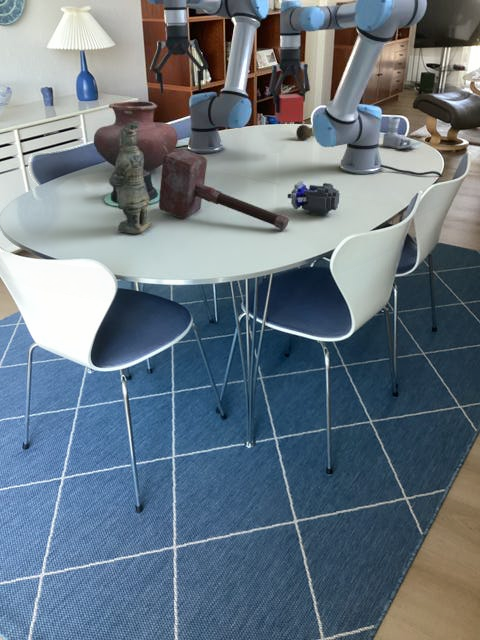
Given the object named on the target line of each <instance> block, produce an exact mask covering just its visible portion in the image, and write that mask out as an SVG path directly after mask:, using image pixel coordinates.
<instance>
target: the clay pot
mask: <svg viewBox="0 0 480 640" xmlns="http://www.w3.org/2000/svg"><path fill="white" fill-rule="evenodd" d="M157 107H158V105H157V104H155V103H154V102H152V101H145V100H141V101H140V100H138V101H120V102H113V103H109V104H108V108H110V109H112V110H113V113H114V116H115V119H114V122H113V124H110V125H105V126H101V127H98V128H97V130H96V131H95V132H94V135H93V145H94V148H95V149H96V152H97V153H98V154H99V155H100V156H101V157H102V158H103V159H104V160H105V161H106V162H107V163H108V164H110V165H111V166H113V167H115V164H116V160H117V156H118V154H119V151H120V147H119V140H118V138H119V133H120V130H121V129H123V128H124V127H125V126H126V125H127V124H128V123H131V122H133V121H137V122H138V123H139V127H138V130H137V131H136V138H137V143H136V146H137V147H138V149H139V150H141V151H142V153H143V156H144V166H143V169H144V170H146V171H147V172H151V171H153V170H157V169H158V168H160V167H161V166H163V158H164V156H165V155H167V154H170V153H172V152H174V151H175V150H176V149H175V147H177V145H178V141H179V140H178V139H179V138H178V133H177V131H176V129H175V128H174V127H173V125H171V124H169V123H166V122H156V121H155V122H154V114H155V110H156V109H157Z"/></svg>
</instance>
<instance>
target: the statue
mask: <svg viewBox="0 0 480 640" xmlns="http://www.w3.org/2000/svg"><path fill="white" fill-rule="evenodd" d="M138 127H139V123H138V122H137V121H133V122H131V123H128V124H127V125H126V126H125V127H124V128H123V129H121V130H120V133H119V138H118V140H119V147H120V151H119V154H118V156H117V160H116V164H115V166H114V169H113V172H114V175H113V176H112V175H111V176H110V177H109V180H108V183H109V184H110V186H111V187H112V188H113V187H114V188H115V189H116V192H117V202H118V206H117V209H119V210H122V213H123V214H124V215H125V218H126V219H125V220H122V221H120V222H119V224H118V225H117V231H118V232H121V233H126V234H134V235H136V234H142V233H143V232H145V231H146V230H147V229H148V228H150V227H151V226H152V225H153V223H152V220H150V219H148V216H147V214H148V213H147V212H148V211H147V209H148V206H149V205H150V197H149V195H148V192H147V188H146V184H145V182H144V178H143V166H144V156H143V153H142V151H141V150H139V149H138V147H137V146H136V143H137V138H136V131H137V130H138Z"/></svg>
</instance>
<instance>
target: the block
mask: <svg viewBox="0 0 480 640" xmlns="http://www.w3.org/2000/svg"><path fill="white" fill-rule="evenodd" d="M279 95H280V97H279V113H277V112H276V104H275V103H274V120H276V121H277V122H279V123H281V124H286V123H300V122H302V123H303V121H304V102H303V97H302V96H300V95H299V93H288V94H285V93H284V94H279Z"/></svg>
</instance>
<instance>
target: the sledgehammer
mask: <svg viewBox="0 0 480 640" xmlns="http://www.w3.org/2000/svg"><path fill="white" fill-rule="evenodd" d="M207 164H208V159H207V158H206V157H205V156H203V155H201V154H199V153H193V152H190V151H188V149H187V150H186V149H184V148H178V149H176V150H174V152H172V153H170V154H167V155H165V156H164V158H163V165H161V166H162V167H161V176H160V187H159V190H160V198H159V200H158V208H159V210H160V211H162V212H165V213H168V214H170V215H173V216H174V217H177V218H180V219H182V220H185V219H187V218H188V217H190V216H192V215H193V214H195V213H197V212H198V211H199V210H200V209H201V207H202V201H203V200H204V201H207V202H209V203H213V204H215V205H220V206H223V207H225V208H228V209H231V210H233V211H236V212H239V213H241V214H243V215H245V216H248V217H252V218H255V219H257V220H260V221H262V222H264V223H267V224H270V225H273V226H274V228H276V229H280V230H282V231H285V230H286V228H287V227H288V224H289V221H290V218H289V217H288V216H286V215H283V214H281V213H279V214H277V213H275V212H273V211H269V210H267V209H265V208H262V207H259V206H256V205H254V204H251V203H248V202H246V201H244V200H242V199H238V198H236V197H233V196H231V195H228V194H225V193H223V192H222V191H220V190H218V189H215V188H214V187H211V186H208V185H205V181H206V175H207Z"/></svg>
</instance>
